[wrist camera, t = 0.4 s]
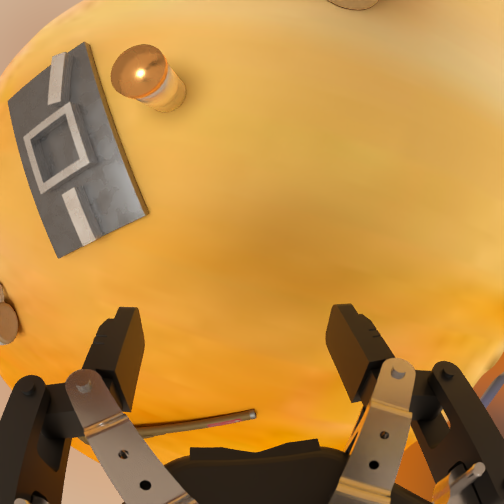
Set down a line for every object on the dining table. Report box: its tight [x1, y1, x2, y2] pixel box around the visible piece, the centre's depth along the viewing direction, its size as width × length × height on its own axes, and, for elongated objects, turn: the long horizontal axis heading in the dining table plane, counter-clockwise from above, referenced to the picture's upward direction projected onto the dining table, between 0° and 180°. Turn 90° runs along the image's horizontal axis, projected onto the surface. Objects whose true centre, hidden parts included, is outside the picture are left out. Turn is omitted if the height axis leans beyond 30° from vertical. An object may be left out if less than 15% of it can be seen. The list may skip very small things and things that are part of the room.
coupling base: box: [8, 42, 149, 259], centre depth 29 cm, size 24×14×4 cm, turn 21°
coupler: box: [111, 44, 186, 112], centre depth 25 cm, size 5×5×10 cm
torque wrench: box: [78, 409, 257, 445], centre depth 42 cm, size 5×35×5 cm
